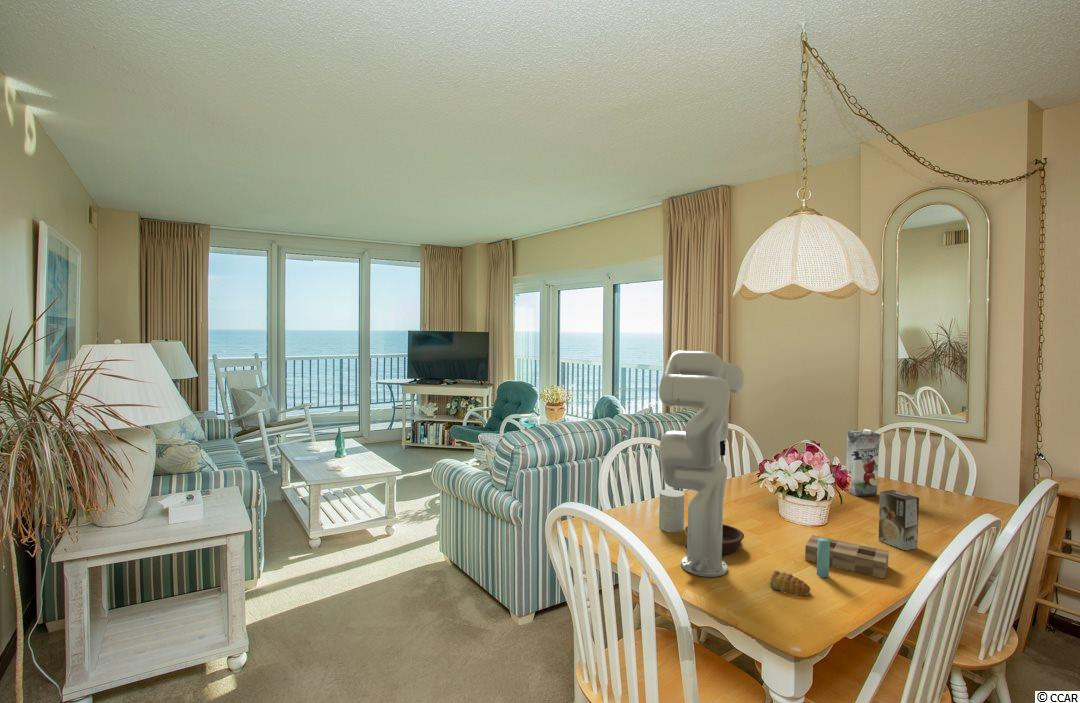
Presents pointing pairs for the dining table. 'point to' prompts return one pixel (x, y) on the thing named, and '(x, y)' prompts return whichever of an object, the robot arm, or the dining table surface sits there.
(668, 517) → the grey cylinder
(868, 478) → the juice carton
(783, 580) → the pastry
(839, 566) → the hole block
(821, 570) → the peg
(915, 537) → the coffee box
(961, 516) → the dining table surface
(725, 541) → the dish
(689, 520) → the robot arm
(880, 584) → the dining table surface
